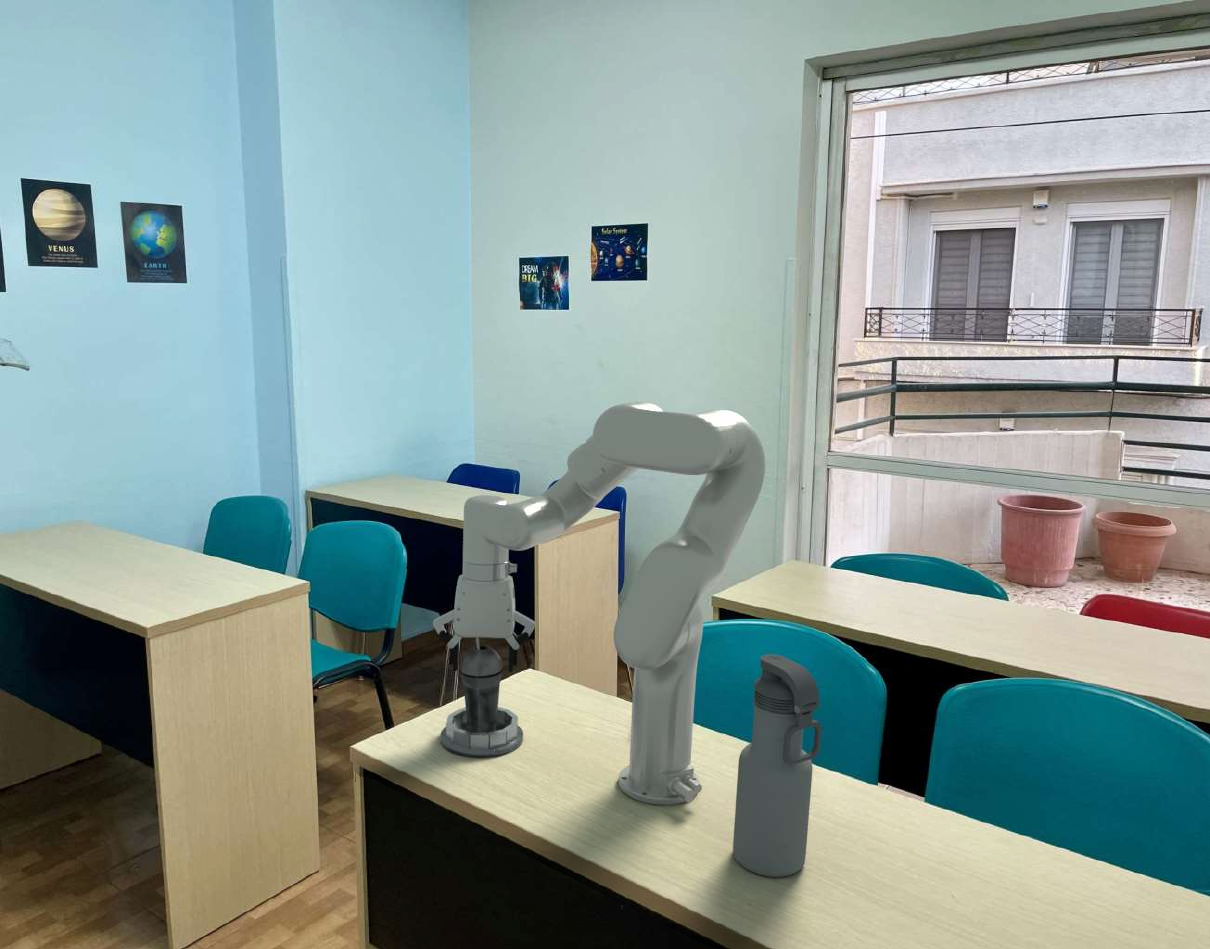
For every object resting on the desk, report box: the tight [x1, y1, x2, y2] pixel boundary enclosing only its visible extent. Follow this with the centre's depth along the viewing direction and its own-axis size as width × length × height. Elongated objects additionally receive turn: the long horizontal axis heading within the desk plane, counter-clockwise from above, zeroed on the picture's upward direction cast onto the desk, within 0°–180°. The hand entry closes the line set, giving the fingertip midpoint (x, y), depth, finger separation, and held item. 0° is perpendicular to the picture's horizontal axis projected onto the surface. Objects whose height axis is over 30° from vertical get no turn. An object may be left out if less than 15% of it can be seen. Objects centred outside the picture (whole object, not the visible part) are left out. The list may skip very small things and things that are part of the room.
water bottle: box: [732, 653, 823, 878], centre depth 125 cm, size 10×10×28 cm
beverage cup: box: [459, 638, 504, 733], centre depth 158 cm, size 7×7×20 cm
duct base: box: [440, 706, 524, 759], centre depth 160 cm, size 14×14×4 cm
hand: (483, 668), depth 158 cm, fingers open, 9 cm apart
